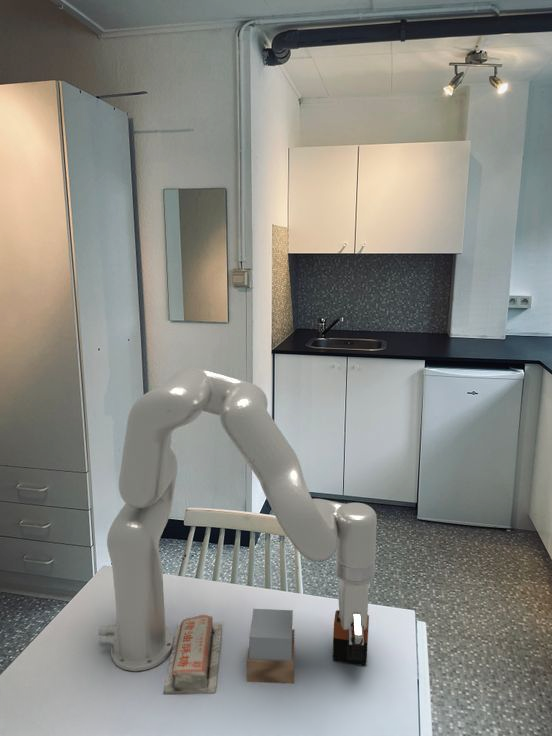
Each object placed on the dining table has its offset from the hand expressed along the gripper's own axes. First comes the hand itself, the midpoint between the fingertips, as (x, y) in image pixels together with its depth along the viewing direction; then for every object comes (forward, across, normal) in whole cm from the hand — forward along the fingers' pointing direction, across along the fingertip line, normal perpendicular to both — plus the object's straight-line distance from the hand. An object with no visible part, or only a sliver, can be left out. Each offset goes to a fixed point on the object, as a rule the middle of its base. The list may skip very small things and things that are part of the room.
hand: (352, 640), depth 108 cm
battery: (+4, 0, 0) cm, 4 cm away
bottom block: (+4, +3, -16) cm, 17 cm away
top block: (-1, +3, -16) cm, 17 cm away
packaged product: (+4, +2, -32) cm, 32 cm away
